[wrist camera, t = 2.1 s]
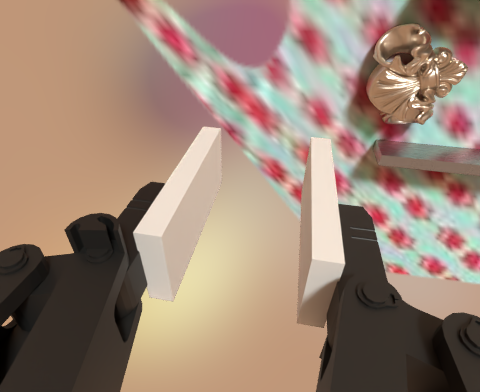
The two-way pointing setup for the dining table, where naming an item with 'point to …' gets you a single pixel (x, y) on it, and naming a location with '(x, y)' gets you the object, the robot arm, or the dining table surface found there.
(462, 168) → the frame
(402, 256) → the dining table surface
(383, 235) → the dining table surface
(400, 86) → the ornament
